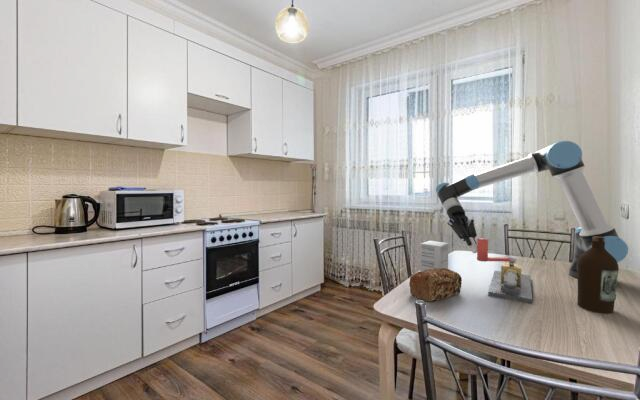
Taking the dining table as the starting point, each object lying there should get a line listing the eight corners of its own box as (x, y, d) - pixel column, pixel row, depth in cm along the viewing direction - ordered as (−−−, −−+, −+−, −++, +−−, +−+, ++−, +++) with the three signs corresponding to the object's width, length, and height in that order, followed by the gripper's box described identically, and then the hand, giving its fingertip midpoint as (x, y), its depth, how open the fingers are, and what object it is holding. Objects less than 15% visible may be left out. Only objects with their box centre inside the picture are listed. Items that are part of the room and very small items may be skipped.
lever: (512, 259, 130) (513, 238, 129) (518, 262, 126) (519, 240, 125) (475, 259, 131) (475, 238, 130) (479, 261, 127) (480, 240, 126)
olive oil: (567, 303, 110) (570, 235, 109) (590, 300, 113) (593, 234, 111) (600, 315, 100) (604, 240, 99) (624, 312, 102) (628, 239, 101)
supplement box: (428, 275, 144) (429, 240, 143) (448, 279, 138) (449, 242, 137) (419, 280, 137) (419, 243, 136) (439, 284, 131) (440, 246, 130)
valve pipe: (494, 273, 147) (495, 251, 146) (529, 278, 139) (530, 255, 138) (488, 295, 118) (489, 268, 118) (532, 303, 111) (533, 274, 110)
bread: (429, 304, 110) (429, 277, 110) (407, 294, 120) (408, 269, 119) (462, 294, 119) (463, 269, 119) (440, 286, 129) (440, 263, 128)
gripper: (462, 214, 151) (484, 255, 135) (438, 214, 148) (458, 256, 133) (469, 204, 145) (494, 246, 130) (445, 204, 143) (467, 247, 128)
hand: (476, 251), depth 132 cm, fingers closed
